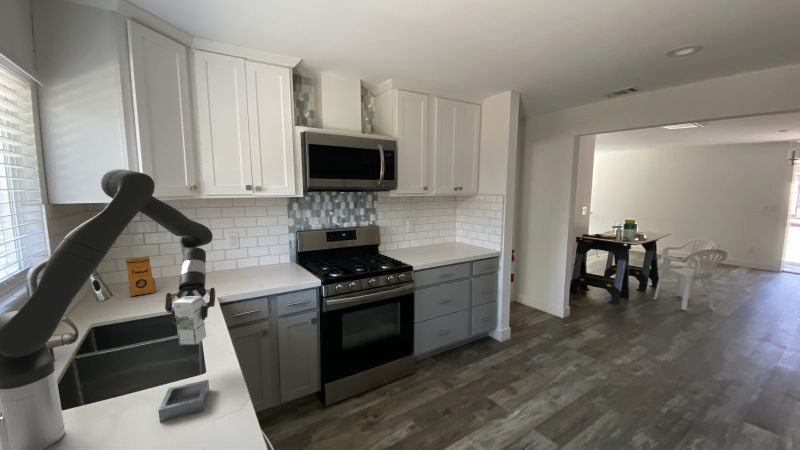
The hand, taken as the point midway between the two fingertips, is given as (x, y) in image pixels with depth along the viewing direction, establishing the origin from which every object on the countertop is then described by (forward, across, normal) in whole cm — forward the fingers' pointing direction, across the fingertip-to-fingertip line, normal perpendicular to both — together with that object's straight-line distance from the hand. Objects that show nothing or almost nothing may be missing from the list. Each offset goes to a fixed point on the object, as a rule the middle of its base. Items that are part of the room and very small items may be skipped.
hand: (189, 321), depth 103 cm
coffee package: (-64, -45, +93) cm, 122 cm away
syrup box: (+4, 0, +6) cm, 8 cm away
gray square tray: (+24, 0, +4) cm, 24 cm away
